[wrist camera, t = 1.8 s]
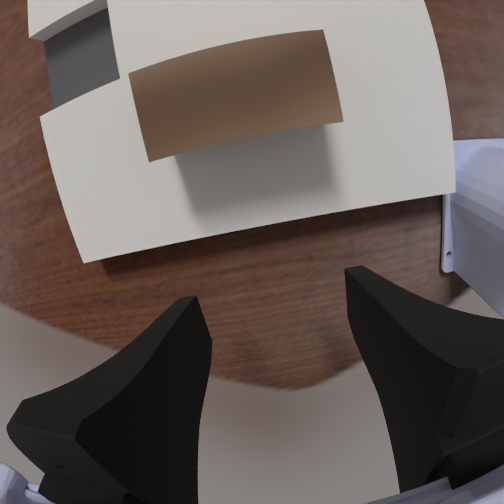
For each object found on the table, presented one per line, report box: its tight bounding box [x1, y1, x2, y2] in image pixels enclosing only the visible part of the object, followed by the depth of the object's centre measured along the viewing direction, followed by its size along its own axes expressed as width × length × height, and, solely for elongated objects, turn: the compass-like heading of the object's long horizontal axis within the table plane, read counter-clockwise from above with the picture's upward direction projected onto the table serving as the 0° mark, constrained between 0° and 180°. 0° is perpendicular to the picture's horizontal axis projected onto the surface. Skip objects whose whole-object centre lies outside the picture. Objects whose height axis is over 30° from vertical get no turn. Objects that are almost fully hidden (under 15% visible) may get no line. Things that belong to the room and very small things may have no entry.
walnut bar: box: [128, 29, 344, 162], centre depth 13 cm, size 4×8×4 cm, turn 102°
